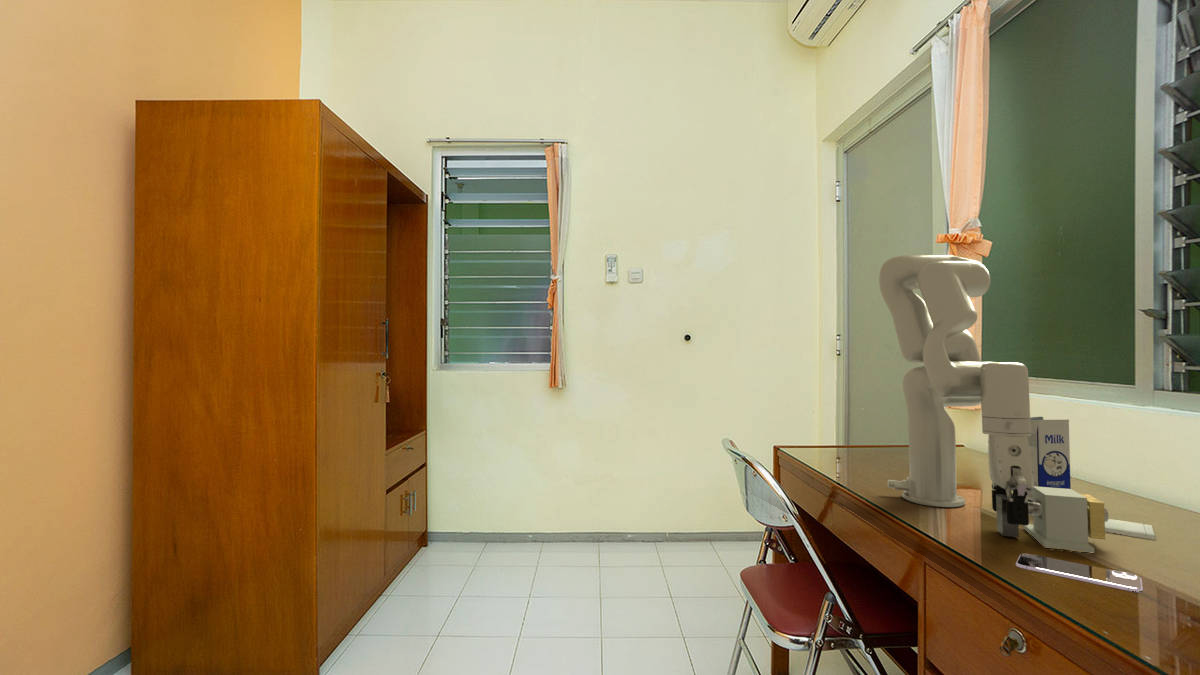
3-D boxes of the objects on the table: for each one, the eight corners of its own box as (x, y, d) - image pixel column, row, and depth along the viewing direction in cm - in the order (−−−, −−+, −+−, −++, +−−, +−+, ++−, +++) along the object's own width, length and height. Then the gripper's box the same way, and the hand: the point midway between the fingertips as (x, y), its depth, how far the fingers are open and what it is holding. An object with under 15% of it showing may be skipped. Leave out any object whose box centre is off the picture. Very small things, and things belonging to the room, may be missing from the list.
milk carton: (1040, 508, 123) (1038, 418, 124) (1017, 500, 130) (1015, 415, 131) (1072, 508, 124) (1069, 418, 124) (1047, 500, 130) (1045, 415, 131)
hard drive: (1067, 521, 111) (1154, 534, 103) (1068, 512, 117) (1151, 523, 109) (1067, 529, 111) (1155, 543, 103) (1069, 520, 117) (1151, 532, 109)
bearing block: (1044, 548, 98) (1043, 497, 99) (1023, 528, 110) (1022, 482, 110) (1094, 553, 96) (1093, 501, 96) (1067, 532, 107) (1066, 486, 107)
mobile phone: (1020, 550, 96) (1141, 574, 86) (1020, 556, 96) (1141, 580, 86) (1014, 562, 90) (1143, 589, 80) (1014, 568, 90) (1143, 596, 80)
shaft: (1002, 535, 104) (1001, 499, 104) (996, 529, 108) (996, 494, 108) (1111, 546, 98) (1110, 508, 98) (1101, 539, 102) (1100, 502, 102)
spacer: (1090, 538, 98) (1089, 501, 98) (1076, 527, 104) (1075, 493, 104) (1105, 539, 97) (1104, 503, 98) (1089, 528, 103) (1088, 494, 104)
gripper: (1046, 432, 96) (1050, 532, 96) (1015, 423, 112) (1019, 508, 111) (994, 430, 99) (998, 527, 98) (972, 421, 115) (975, 505, 114)
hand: (1009, 517), depth 105 cm, fingers open, 9 cm apart
